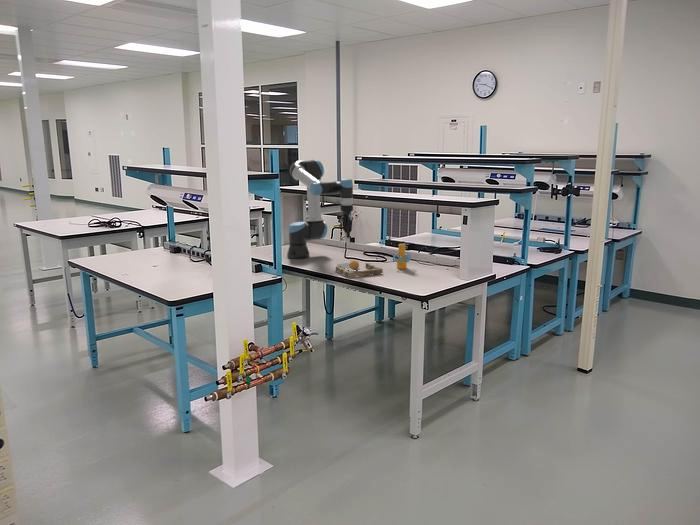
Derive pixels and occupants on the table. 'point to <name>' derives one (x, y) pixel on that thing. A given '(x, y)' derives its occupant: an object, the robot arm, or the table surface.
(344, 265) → the lane tape
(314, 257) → the table surface
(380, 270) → the pin pen
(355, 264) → the ball
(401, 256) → the orange toy figure
